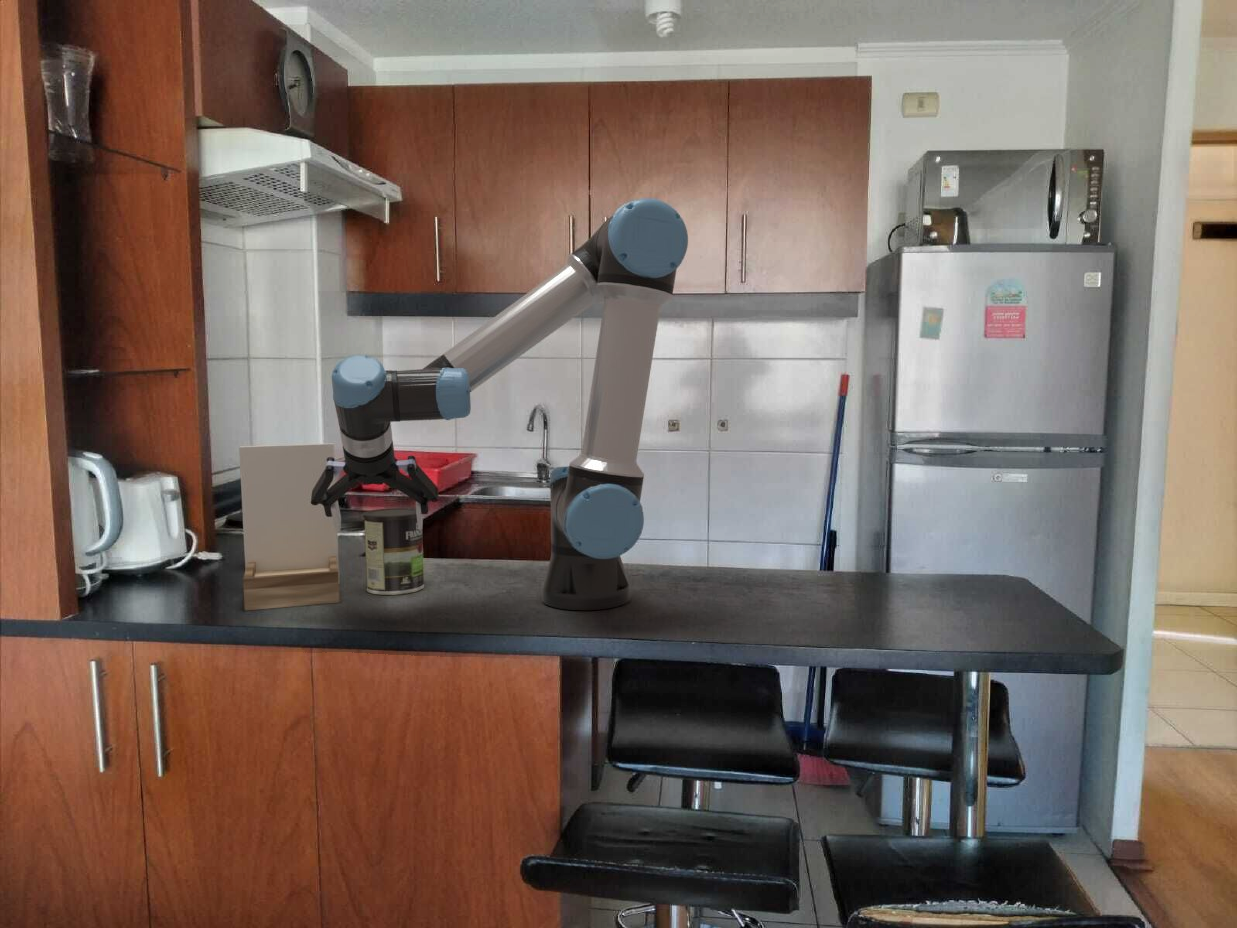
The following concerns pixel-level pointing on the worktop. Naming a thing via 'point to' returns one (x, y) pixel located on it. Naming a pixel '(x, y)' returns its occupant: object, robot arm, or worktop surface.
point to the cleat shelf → (290, 586)
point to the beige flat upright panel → (285, 507)
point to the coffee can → (393, 551)
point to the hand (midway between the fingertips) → (379, 524)
